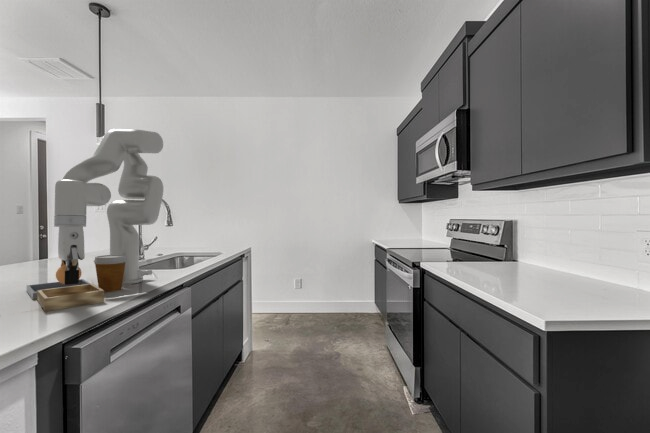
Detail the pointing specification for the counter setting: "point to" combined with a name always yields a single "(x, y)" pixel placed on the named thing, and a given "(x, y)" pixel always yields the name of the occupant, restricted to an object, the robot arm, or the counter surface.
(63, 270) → the ball
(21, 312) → the counter surface
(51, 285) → the container
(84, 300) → the tray
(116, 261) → the disposable coffee cup
